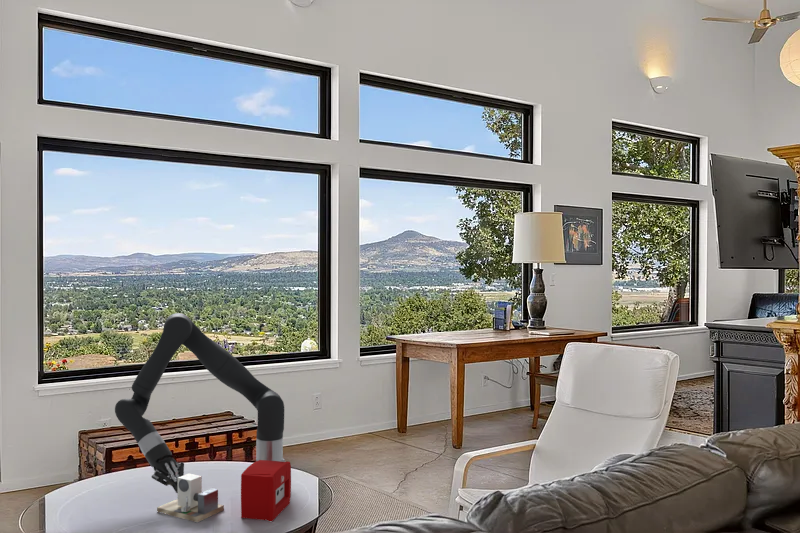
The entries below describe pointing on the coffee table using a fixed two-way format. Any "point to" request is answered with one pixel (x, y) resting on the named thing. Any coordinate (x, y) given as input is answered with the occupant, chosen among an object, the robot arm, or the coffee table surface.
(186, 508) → the grey metal lever
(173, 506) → the gauge stand
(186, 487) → the block
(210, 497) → the grey metal square plate
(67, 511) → the coffee table surface
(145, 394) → the robot arm
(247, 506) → the fire alarm
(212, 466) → the coffee table surface
